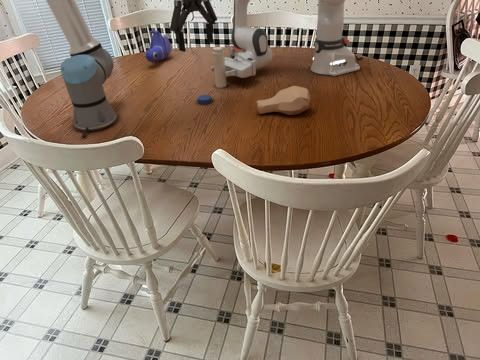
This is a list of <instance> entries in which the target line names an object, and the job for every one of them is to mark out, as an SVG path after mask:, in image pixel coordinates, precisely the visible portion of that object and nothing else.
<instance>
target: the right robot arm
mask: <svg viewBox="0 0 480 360" xmlns="http://www.w3.org/2000/svg"><path fill="white" fill-rule="evenodd" d="M250 2H251V0H233V20H232V23H233V24H232V30H231V36H230V37H231V38H230V39H231V43H232V46H233V45H234V47H235V48H237V49H246V52H244V53H241V54H238V55H236V56H234V58H231V57H228V56H227V57H225V56H224V57H225V70H226V72H224V76H226V78H227V77H234V76H235V77H238V78H241V79H245V78H248V77H253V76H256V73H257V71H258V70H259V69H262V68H264V67H266V66H268V65H269V64H270V63H271V62H272V60H273V56H274V55H273V50H272V49H271V47H270V46H269V41H268V39H269V38H268V35H267V32H266V30H264V29H263V28H260V27H252V26H251V27H250V26H248V23H247V19H248V18H247V17H248V6H249V3H250ZM345 2H346V0H318V1H317V21H316V22H317V23H316V35H315V36H316V37H315V39H314V54H313V57H312V63H311V66H310V71H311V72H312V73H315V74H319V75H327V76H331V77H336V76H340V75H344V74H348V73H352V72H356V71H360V70H361V65H359V64H358V63H357V62H356V61H357V60H359V61H360V60H363V58H364V57H363V56H361V57H358V56H357V55H356V54H354V52H352V51H351V49H349V48H348V47H347V46H345V45H349V44H350V42H351V41H350V39H348V38H344V37H343V29H344V22H345ZM210 71H211V72H214V65H212V66H210Z"/></svg>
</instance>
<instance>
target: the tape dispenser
mask: <svg viewBox="0 0 480 360" xmlns="http://www.w3.org/2000/svg"><path fill="white" fill-rule="evenodd" d="M244 52H246V49H237V48H235V47H234V45H233V44H232V45H231V44H230V45H228V53H229V55H231V57H235V56H236V55H238V54H241V53H244Z"/></svg>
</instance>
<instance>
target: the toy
mask: <svg viewBox="0 0 480 360" xmlns="http://www.w3.org/2000/svg"><path fill="white" fill-rule="evenodd" d="M149 33H151V34H152V36H151V38H150V43H149V44H150V45H149V48H148V49H145V52H144V58H145V59H146V60H147V61H148V62H150V63H151V65H152V67H155V62H160V61H162V60H166V59H167V58H168V57H169V55H170V54H171V52H172V46H171V42H170V39H169V38H168V37H167V35H165V34H162V33H161V32H160V31H159V30H150V31H149Z"/></svg>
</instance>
